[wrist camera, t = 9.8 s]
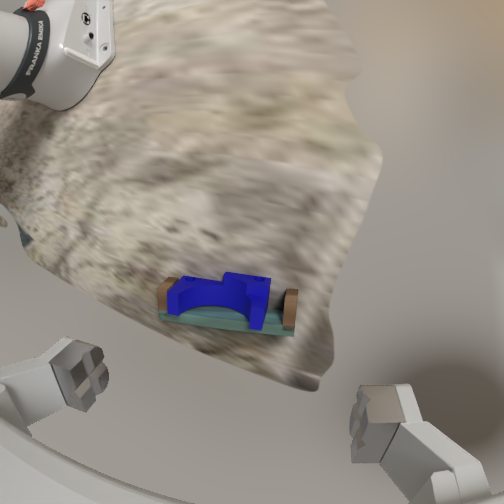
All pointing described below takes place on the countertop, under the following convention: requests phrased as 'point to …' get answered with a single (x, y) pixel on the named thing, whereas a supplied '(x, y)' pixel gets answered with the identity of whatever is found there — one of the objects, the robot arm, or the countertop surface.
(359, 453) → the robot arm
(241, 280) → the cable clip
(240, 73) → the countertop surface
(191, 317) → the rail
